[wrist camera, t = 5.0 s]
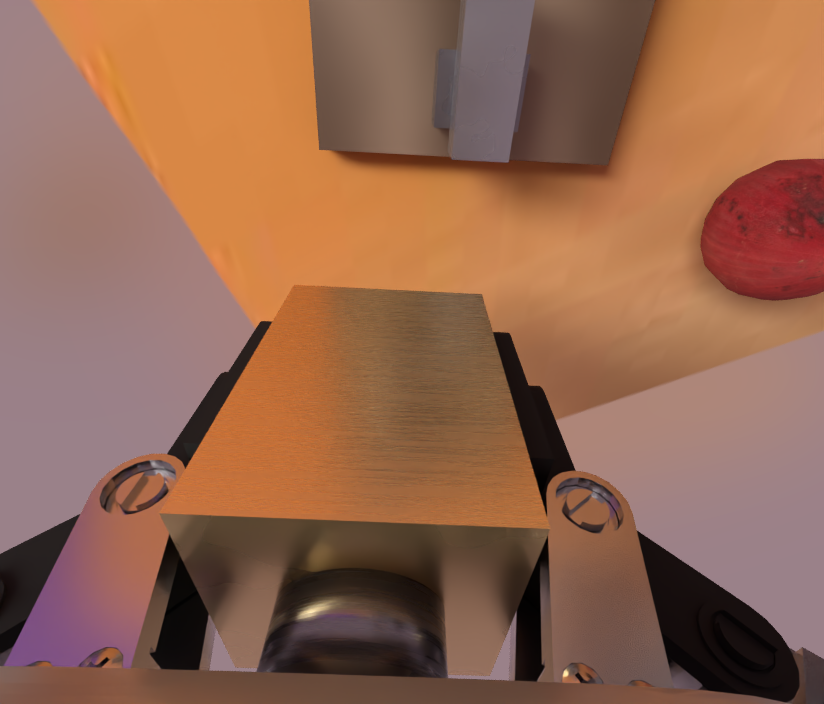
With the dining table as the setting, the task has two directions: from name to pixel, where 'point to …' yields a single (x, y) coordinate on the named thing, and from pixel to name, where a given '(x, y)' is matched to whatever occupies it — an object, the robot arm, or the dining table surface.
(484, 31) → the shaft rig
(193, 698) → the robot arm
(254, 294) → the dining table surface
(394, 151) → the base board
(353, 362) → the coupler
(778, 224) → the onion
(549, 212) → the dining table surface
